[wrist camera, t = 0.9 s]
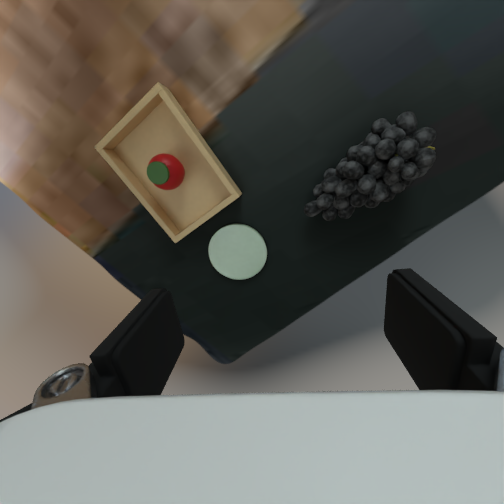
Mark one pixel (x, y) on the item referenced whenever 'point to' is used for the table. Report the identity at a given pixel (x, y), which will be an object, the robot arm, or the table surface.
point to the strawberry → (165, 171)
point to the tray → (174, 143)
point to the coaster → (237, 251)
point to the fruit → (375, 168)
